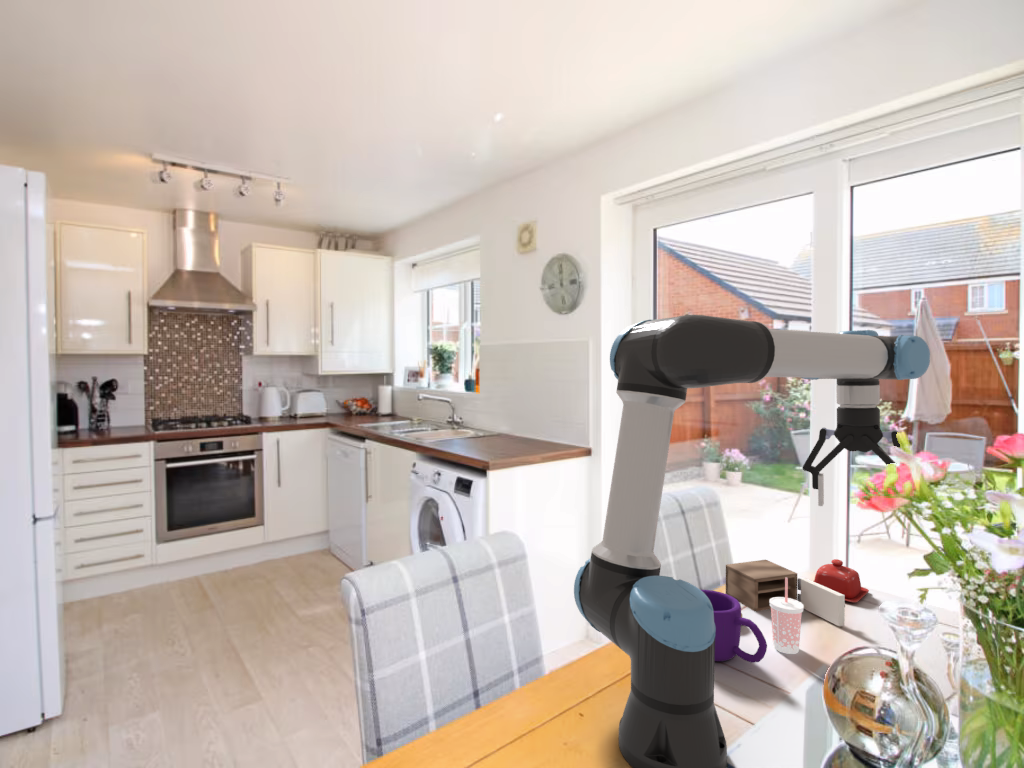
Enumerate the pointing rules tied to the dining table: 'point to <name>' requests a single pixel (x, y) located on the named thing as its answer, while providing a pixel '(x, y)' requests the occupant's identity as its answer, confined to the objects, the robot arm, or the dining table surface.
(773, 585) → the cabinet
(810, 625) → the dining table surface
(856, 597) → the butter dish
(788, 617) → the beverage cup
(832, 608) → the door
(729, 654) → the mug
